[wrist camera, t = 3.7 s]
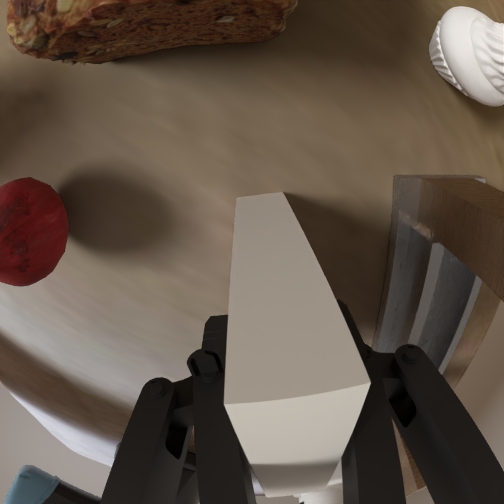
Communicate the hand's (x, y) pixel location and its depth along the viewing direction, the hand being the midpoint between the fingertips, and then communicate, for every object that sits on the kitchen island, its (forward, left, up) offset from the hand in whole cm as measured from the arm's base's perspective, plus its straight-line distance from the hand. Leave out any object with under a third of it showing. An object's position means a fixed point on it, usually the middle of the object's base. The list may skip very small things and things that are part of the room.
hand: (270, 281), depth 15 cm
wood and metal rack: (-6, -12, -2) cm, 14 cm away
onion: (+6, +13, -2) cm, 14 cm away
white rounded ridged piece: (+13, -13, -2) cm, 18 cm away
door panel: (0, 0, -2) cm, 2 cm away
